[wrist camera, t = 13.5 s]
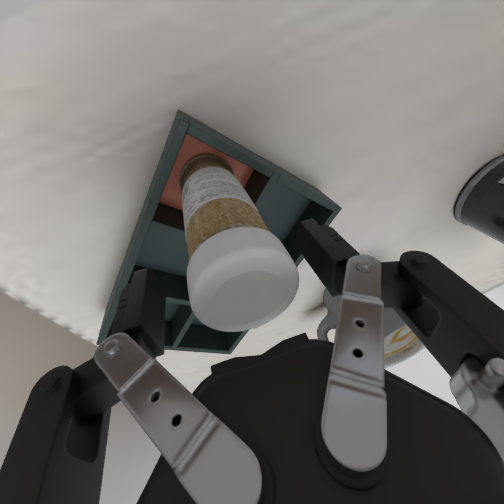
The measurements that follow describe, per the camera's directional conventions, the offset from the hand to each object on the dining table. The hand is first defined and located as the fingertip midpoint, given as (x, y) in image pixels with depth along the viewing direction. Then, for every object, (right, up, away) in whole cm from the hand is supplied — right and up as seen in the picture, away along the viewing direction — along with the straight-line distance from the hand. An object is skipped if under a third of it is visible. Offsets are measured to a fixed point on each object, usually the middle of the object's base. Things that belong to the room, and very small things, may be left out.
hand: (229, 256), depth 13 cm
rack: (-3, 0, +12) cm, 13 cm away
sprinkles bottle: (-3, +6, +7) cm, 10 cm away
